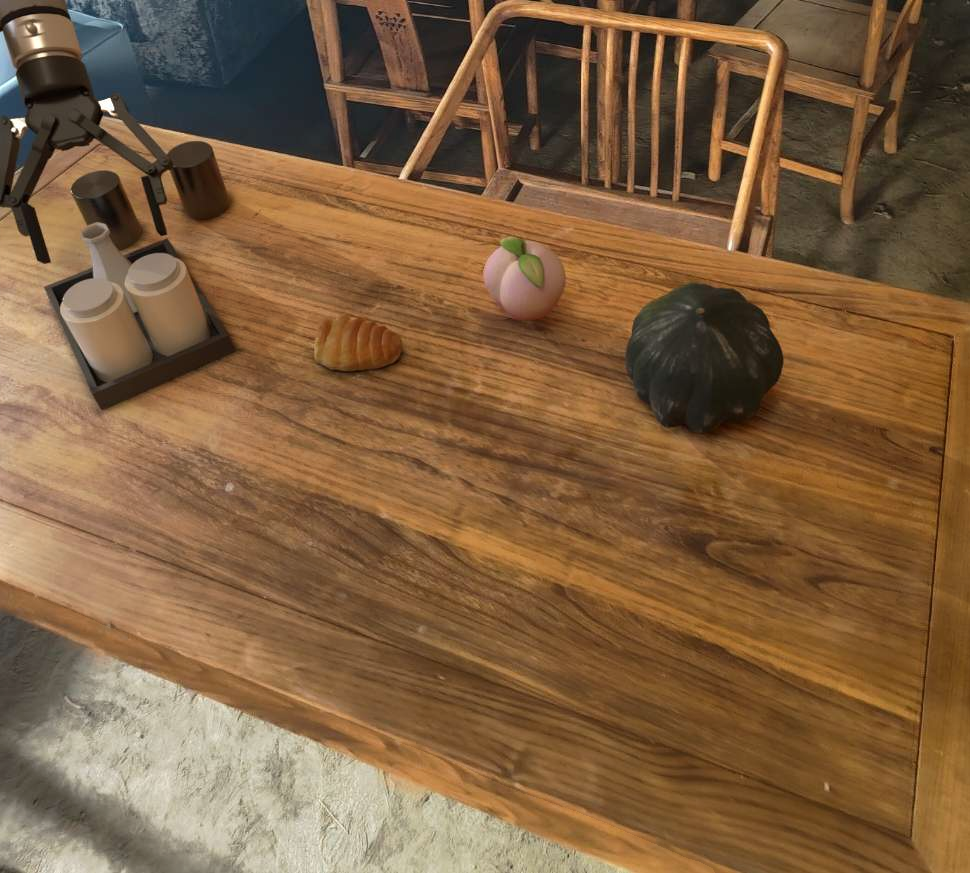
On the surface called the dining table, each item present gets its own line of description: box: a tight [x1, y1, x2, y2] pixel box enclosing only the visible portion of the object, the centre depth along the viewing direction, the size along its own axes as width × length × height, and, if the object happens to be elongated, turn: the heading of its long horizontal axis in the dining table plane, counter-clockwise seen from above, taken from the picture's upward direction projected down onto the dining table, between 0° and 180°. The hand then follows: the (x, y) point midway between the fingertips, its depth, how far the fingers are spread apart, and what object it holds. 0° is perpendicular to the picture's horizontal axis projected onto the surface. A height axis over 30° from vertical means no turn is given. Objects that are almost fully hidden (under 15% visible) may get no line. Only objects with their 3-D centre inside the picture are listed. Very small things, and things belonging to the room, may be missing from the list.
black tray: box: [43, 237, 236, 411], centre depth 108 cm, size 22×16×3 cm
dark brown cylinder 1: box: [70, 169, 143, 251], centre depth 118 cm, size 6×6×8 cm
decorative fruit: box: [482, 236, 567, 322], centre depth 101 cm, size 9×8×10 cm
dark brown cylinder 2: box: [166, 140, 231, 221], centre depth 121 cm, size 6×6×8 cm
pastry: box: [313, 314, 403, 372], centre depth 101 cm, size 9×7×4 cm
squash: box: [624, 282, 785, 435], centre depth 90 cm, size 14×15×15 cm
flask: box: [78, 222, 137, 313], centre depth 108 cm, size 7×7×10 cm
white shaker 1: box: [60, 278, 153, 383], centre depth 100 cm, size 7×7×10 cm
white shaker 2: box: [125, 253, 211, 356], centre depth 102 cm, size 7×7×10 cm
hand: (103, 247), depth 108 cm, fingers open, 13 cm apart
